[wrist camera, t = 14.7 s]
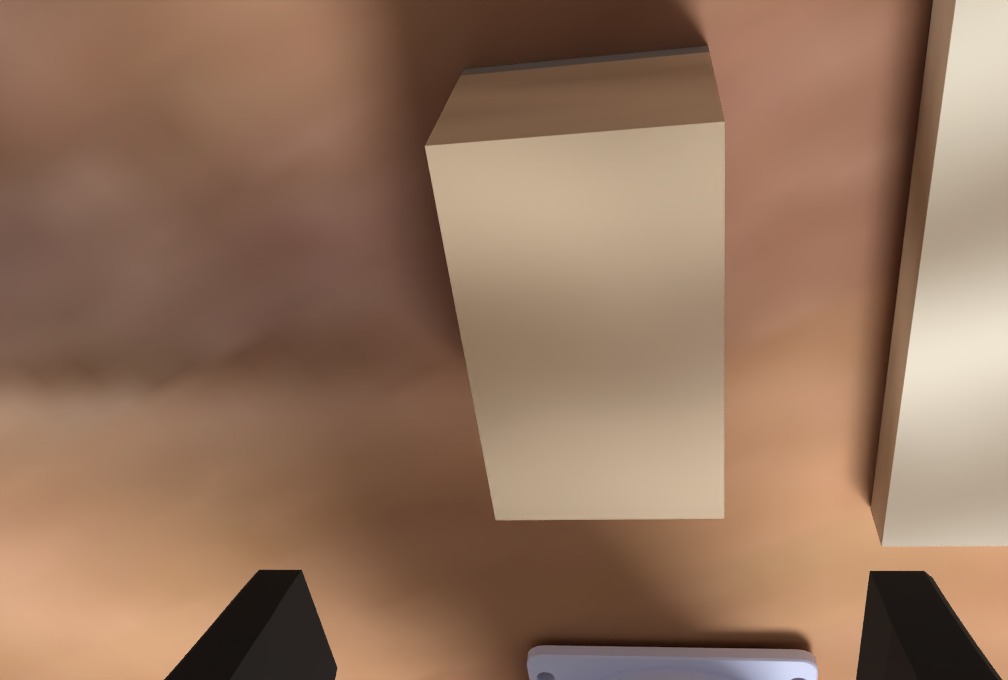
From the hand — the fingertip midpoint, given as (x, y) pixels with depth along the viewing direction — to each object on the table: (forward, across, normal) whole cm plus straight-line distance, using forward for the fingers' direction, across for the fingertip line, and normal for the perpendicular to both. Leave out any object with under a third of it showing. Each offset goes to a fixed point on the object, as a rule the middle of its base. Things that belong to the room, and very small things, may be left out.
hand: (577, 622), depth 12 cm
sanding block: (+9, 0, -1) cm, 9 cm away
